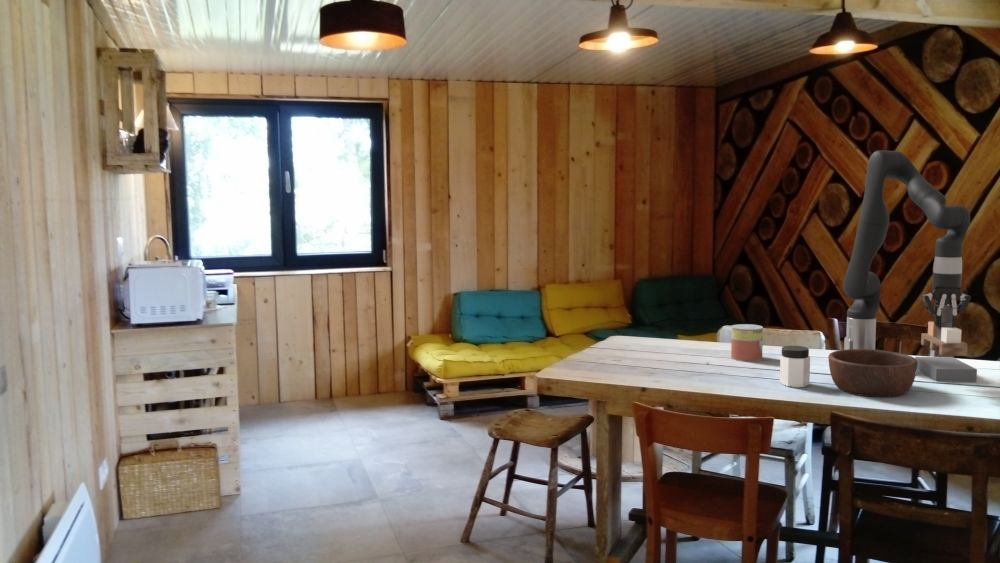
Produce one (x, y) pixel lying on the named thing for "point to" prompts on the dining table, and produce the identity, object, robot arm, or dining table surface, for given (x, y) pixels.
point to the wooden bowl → (872, 372)
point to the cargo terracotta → (932, 329)
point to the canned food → (746, 342)
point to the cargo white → (951, 335)
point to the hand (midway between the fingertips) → (944, 326)
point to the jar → (795, 366)
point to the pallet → (939, 345)
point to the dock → (946, 369)
